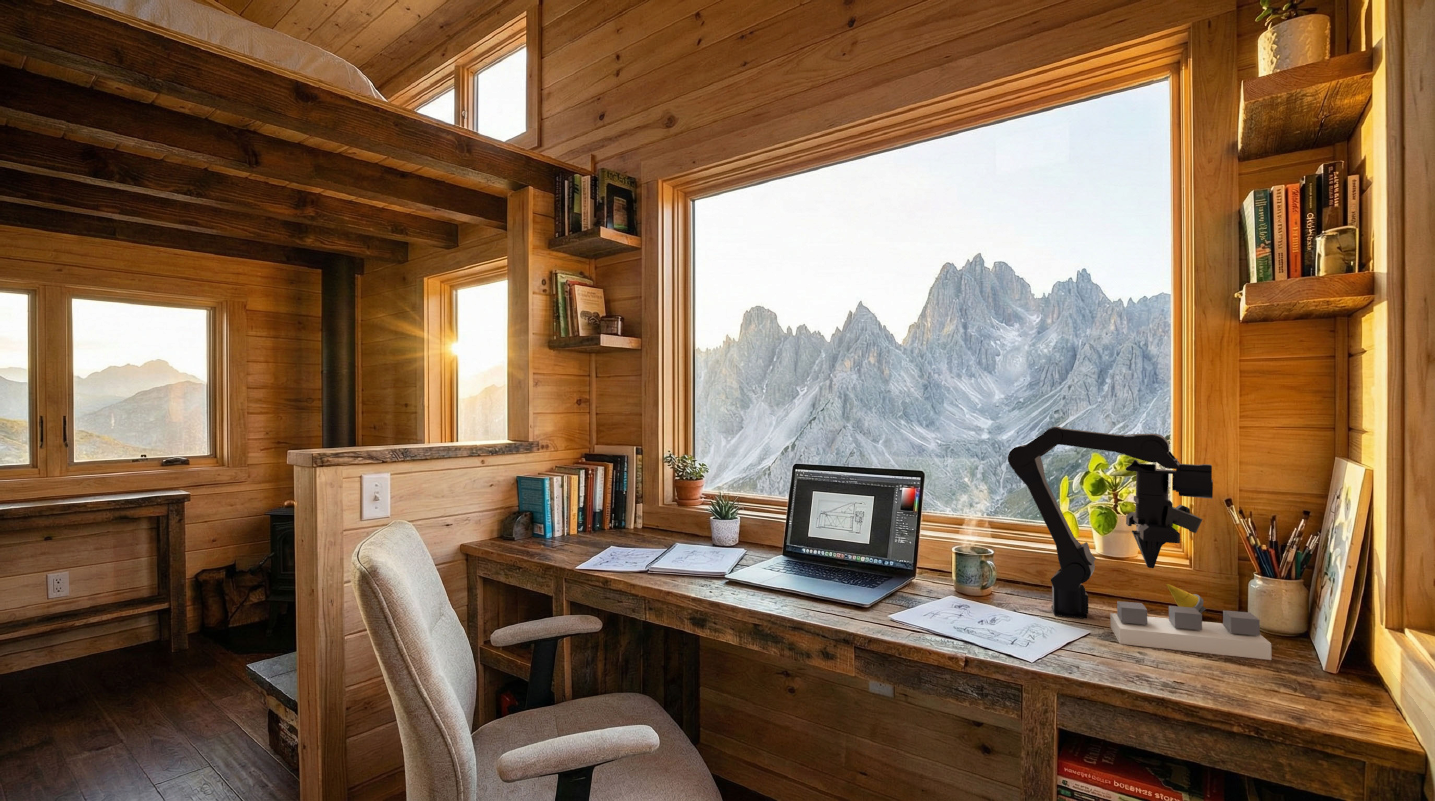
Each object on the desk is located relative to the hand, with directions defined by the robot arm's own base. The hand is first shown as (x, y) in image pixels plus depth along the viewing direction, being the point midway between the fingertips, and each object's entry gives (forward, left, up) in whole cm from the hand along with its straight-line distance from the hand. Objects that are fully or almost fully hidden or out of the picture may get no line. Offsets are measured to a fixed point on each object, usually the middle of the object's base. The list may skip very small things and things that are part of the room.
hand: (1150, 567), depth 139 cm
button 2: (+13, -8, -13) cm, 20 cm away
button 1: (-5, -8, -13) cm, 16 cm away
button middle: (+4, -8, -13) cm, 15 cm away
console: (+4, -8, -13) cm, 15 cm away
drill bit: (+9, +11, -13) cm, 19 cm away
